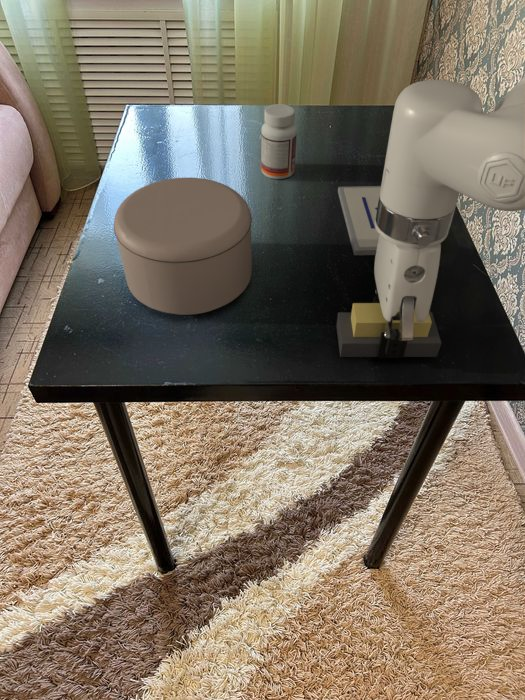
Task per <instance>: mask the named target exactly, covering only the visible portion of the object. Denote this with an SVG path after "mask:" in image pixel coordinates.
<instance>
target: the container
mask: <svg viewBox="0 0 525 700" xmlns="http://www.w3.org/2000/svg"><path fill="white" fill-rule="evenodd" d="M252 219H253V218H252V213H251V209H250V207H249V205H248V203H247V201H246V200H245V198H244V197H243V196H242V195H241V194H240V193H239V192H238V191H237V190H235V189H234V188H232V187H231V186H228V185H226V184H224V183H221V182H219V181H215V180H211V179H208V178H201V177H174V178H167V179H163V180H158V181H155V182H151V183H149V184H146V185H144V186H142V187H140V188H138V189H136V190H135V191H134V192H132V193H130V194H129V195H128V196H127V197H126V198H124V200H123V201H122V202H121V203H120V205H119V206H118V208H117V209H116V212H115V215H114V220H113V233H114V235H115V238H116V242H117V247H118V251H119V255H120V259H121V263H122V268H123V272H124V276H125V279H126V284H127V288H128V290H129V292H130V293H131V294H132V296H133V297H134V298H135V300H137V301H139V302H140V303H142V304H143V305H144V306H146V307H148V308H151V309H152V310H155V311H158V312H162V313H167V314H173V315H184V316H186V315H187V316H188V315H198V314H199V315H200V314H204V313H208V312H211V311H213V310H217V309H219V308H222V307H224V306H226V305H228V304H229V303H231V302H233V301H234V300H235V299H237V298H238V297H239V296H240V295H241V294H242V293H243V292H244V291H245V290H246V289H247V287H248V285H249V283H250V281H251V278H252V272H253V271H252V268H253V267H252V266H253V263H252V262H253V261H252V221H253V220H252Z"/></svg>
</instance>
